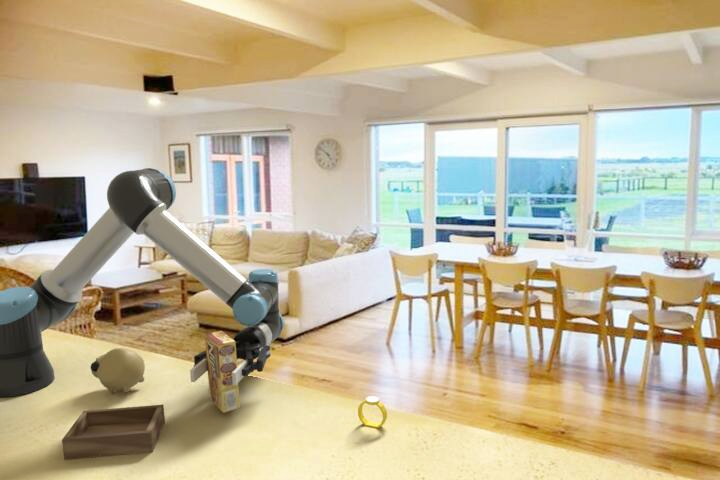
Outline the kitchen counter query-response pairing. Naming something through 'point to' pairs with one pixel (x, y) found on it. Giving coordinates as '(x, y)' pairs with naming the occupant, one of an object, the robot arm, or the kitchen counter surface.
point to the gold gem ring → (372, 401)
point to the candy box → (222, 370)
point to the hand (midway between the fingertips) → (213, 377)
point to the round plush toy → (119, 369)
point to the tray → (114, 432)
